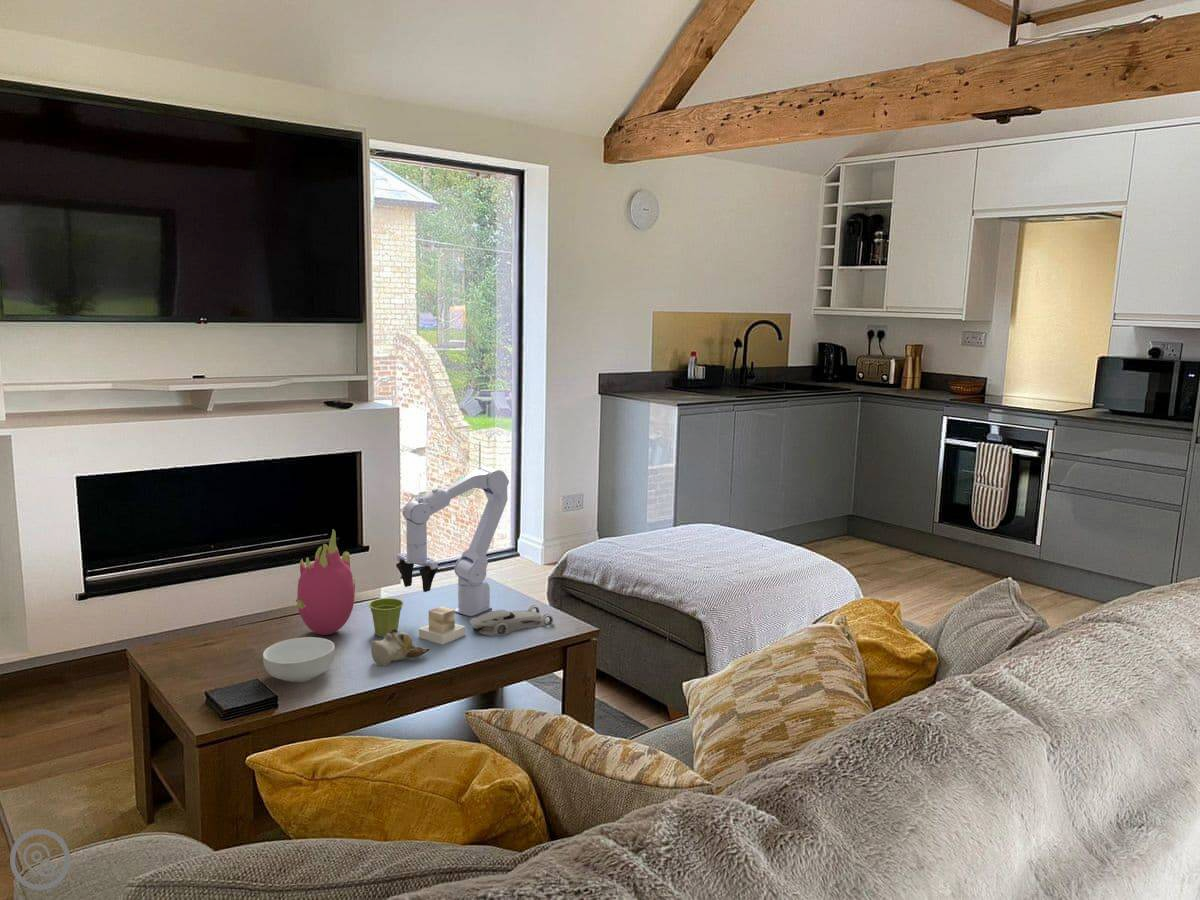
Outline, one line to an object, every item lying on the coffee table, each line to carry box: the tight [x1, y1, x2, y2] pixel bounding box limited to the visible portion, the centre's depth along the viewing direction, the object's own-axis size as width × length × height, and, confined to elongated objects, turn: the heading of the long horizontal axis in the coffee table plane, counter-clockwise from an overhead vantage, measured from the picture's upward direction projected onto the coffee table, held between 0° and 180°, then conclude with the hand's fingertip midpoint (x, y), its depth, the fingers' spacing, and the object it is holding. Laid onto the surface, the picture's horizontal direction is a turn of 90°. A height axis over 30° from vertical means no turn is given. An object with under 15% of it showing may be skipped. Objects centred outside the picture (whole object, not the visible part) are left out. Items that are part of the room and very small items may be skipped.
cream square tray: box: [418, 623, 466, 645], centre depth 249 cm, size 9×9×3 cm
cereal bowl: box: [262, 636, 336, 683], centre depth 221 cm, size 17×17×7 cm
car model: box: [469, 604, 554, 636], centre depth 259 cm, size 11×24×5 cm, turn 121°
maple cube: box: [428, 605, 456, 632], centre depth 249 cm, size 5×5×5 cm
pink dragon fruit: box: [295, 528, 356, 636], centre depth 248 cm, size 18×14×30 cm
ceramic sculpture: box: [370, 629, 431, 667], centre depth 232 cm, size 11×9×15 cm
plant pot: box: [368, 597, 404, 638], centre depth 250 cm, size 9×9×9 cm
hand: (417, 588), depth 259 cm, fingers open, 7 cm apart
